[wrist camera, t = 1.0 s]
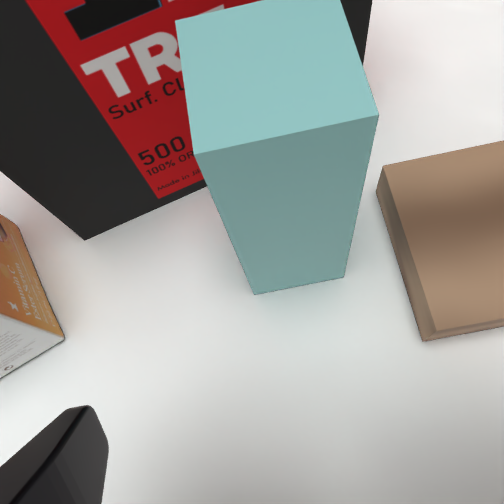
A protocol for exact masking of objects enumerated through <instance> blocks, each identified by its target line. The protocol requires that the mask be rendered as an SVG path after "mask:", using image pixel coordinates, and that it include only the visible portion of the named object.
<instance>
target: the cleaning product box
mask: <svg viewBox="0 0 504 504" xmlns="http://www.w3.org/2000/svg"><path fill="white" fill-rule="evenodd" d="M257 1H262V0H0V171H1V172H2V173H3V174H5V175H6V176H7V177H8V178H10V179H11V180H12V181H13V182H14V183H16V184H17V185H18V186H19V187H20V188H22V189H23V190H24V191H25V192H27V193H28V194H29V195H30V196H31V197H33V198H34V199H35V200H36V201H37V202H39V203H40V204H41V205H42V206H44V207H45V208H46V209H47V210H48V211H50V212H51V213H52V214H53V215H55V216H56V217H57V218H58V219H59V220H61V221H62V222H63V223H64V224H65V225H67V226H68V227H69V228H70V229H72V230H73V231H74V232H75V233H76V234H78V235H79V236H80V237H81V238H82V239H84V240H87V239H89V238H91V237H94V236H96V235H98V234H100V233H103V232H105V231H107V230H109V229H112V228H114V227H116V226H118V225H121V224H123V223H125V222H127V221H130V220H132V219H134V218H136V217H139V216H141V215H143V214H145V213H148V212H150V211H152V210H154V209H157V208H159V207H161V206H163V205H166V204H168V203H170V202H172V201H175V200H177V199H179V198H181V197H184V196H186V195H188V194H190V193H193V192H195V191H197V190H199V189H202V188H204V187H206V186H207V184H206V182H205V179H204V177H203V175H202V172H201V170H200V168H199V165H198V163H197V161H196V158H195V156H194V152H193V145H192V138H191V131H190V124H189V116H188V109H187V102H186V95H185V88H184V81H183V74H182V67H181V59H180V52H179V45H178V38H177V31H176V24H175V21H176V20H180V19H184V18H188V17H193V16H197V15H201V14H206V13H210V12H214V11H219V10H223V9H227V8H232V7H236V6H240V5H244V4H249V3H253V2H257ZM340 1H341V4H342V7H343V10H344V13H345V16H346V19H347V22H348V25H349V28H350V31H351V34H352V37H353V40H354V42H355V45H356V48H357V51H358V54H359V57H360V60H361V63H362V66H363V61H364V55H365V48H366V41H367V34H368V27H369V20H370V13H371V6H372V0H340Z"/></svg>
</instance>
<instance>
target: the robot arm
mask: <svg viewBox="0 0 504 504" xmlns="http://www.w3.org/2000/svg"><path fill="white" fill-rule="evenodd" d="M108 453H109V447H108V441H107V437H106V435H105V433H104V431H103V428H102V426H101V424H100V421H99V419H98V417H97V415H96V412H95V410H94V409H93V408H92V407H91V406H89V405H84V406H79V407H74V408H69V409H67V410H65V411H64V412H63V413H61V414H60V415H59V416H58V417H57V418H56V419H55V420H53V421H52V422H51V423H50V424H49V425H48V426H47V427H45V428H44V429H43V430H42V431H41V432H40V433H39V434H37V435H36V436H35V437H34V438H33V439H32V440H31V441H29V442H28V443H27V444H26V445H25V446H24V447H23V448H21V449H20V450H19V451H18V452H17V453H16V454H15V455H13V456H12V457H11V458H10V459H9V460H8V461H7V462H5V463H4V464H3V465H2V466H1V467H0V504H101V503H102V496H103V489H104V482H105V475H106V468H107V460H108Z"/></svg>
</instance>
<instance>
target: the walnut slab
mask: <svg viewBox="0 0 504 504" xmlns="http://www.w3.org/2000/svg"><path fill="white" fill-rule="evenodd" d="M376 194H377V197H378V200H379V203H380V206H381V210H382V213H383V216H384V219H385V222H386V226H387V229H388V232H389V235H390V239H391V242H392V245H393V248H394V251H395V255H396V258H397V261H398V264H399V267H400V271H401V274H402V277H403V280H404V283H405V287H406V290H407V293H408V296H409V299H410V303H411V306H412V309H413V312H414V315H415V319H416V322H417V325H418V328H419V331H420V335H421V338H422V341H429V340H434V339H439V338H445V337H450V336H455V335H460V334H466V333H471V332H476V331H482V330H487V329H492V328H498V327H503V326H504V141H499V142H494V143H490V144H485V145H480V146H475V147H471V148H466V149H461V150H456V151H451V152H447V153H442V154H437V155H432V156H428V157H423V158H418V159H413V160H409V161H404V162H399V163H394V164H389V165H385V166H383V167H382V171H381V174H380V178H379V182H378V185H377V189H376Z"/></svg>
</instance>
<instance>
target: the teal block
mask: <svg viewBox="0 0 504 504" xmlns="http://www.w3.org/2000/svg"><path fill="white" fill-rule="evenodd" d="M175 24H176V31H177V38H178V45H179V52H180V59H181V67H182V74H183V81H184V88H185V95H186V102H187V109H188V116H189V124H190V131H191V138H192V145H193V152H194V156H195V158H196V161H197V163H198V165H199V168H200V170H201V172H202V175H203V177H204V179H205V182H206V184H207V186H208V189H209V191H210V193H211V195H212V198H213V200H214V202H215V205H216V207H217V209H218V212H219V214H220V216H221V219H222V221H223V223H224V226H225V228H226V230H227V233H228V235H229V237H230V240H231V242H232V244H233V247H234V249H235V251H236V254H237V256H238V258H239V260H240V263H241V265H242V267H243V270H244V272H245V274H246V277H247V279H248V281H249V284H250V286H251V288H252V291H253V293H254V295H256V294H261V293H266V292H271V291H277V290H282V289H287V288H292V287H297V286H302V285H307V284H312V283H317V282H322V281H327V280H332V279H337V278H342V277H344V273H345V268H346V264H347V259H348V255H349V250H350V245H351V241H352V236H353V232H354V227H355V223H356V218H357V213H358V209H359V204H360V200H361V195H362V190H363V186H364V181H365V177H366V172H367V168H368V163H369V158H370V154H371V149H372V145H373V140H374V135H375V131H376V126H377V122H378V117H379V113H378V110H377V107H376V104H375V101H374V98H373V95H372V92H371V89H370V86H369V84H368V81H367V78H366V75H365V72H364V69H363V66H362V63H361V60H360V57H359V54H358V51H357V48H356V45H355V42H354V40H353V37H352V34H351V31H350V28H349V25H348V22H347V19H346V16H345V13H344V10H343V7H342V4H341V1H340V0H262V1H257V2H253V3H249V4H244V5H240V6H236V7H232V8H227V9H223V10H219V11H214V12H210V13H206V14H201V15H197V16H193V17H188V18H184V19H180V20H176V21H175Z"/></svg>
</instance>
